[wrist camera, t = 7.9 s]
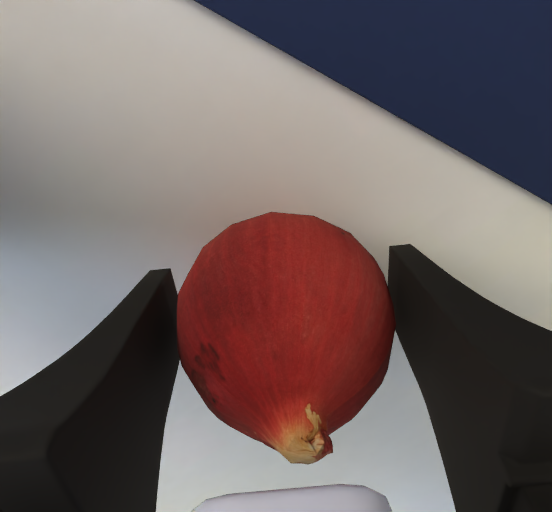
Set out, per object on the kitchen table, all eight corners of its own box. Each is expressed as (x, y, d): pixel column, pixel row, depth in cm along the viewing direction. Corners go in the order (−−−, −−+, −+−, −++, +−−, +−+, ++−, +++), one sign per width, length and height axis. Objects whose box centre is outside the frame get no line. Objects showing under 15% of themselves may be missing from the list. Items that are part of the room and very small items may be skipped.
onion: (272, 336, 18) (282, 562, 11) (158, 245, 15) (81, 466, 9) (396, 249, 16) (498, 464, 9) (286, 129, 13) (315, 301, 7)
